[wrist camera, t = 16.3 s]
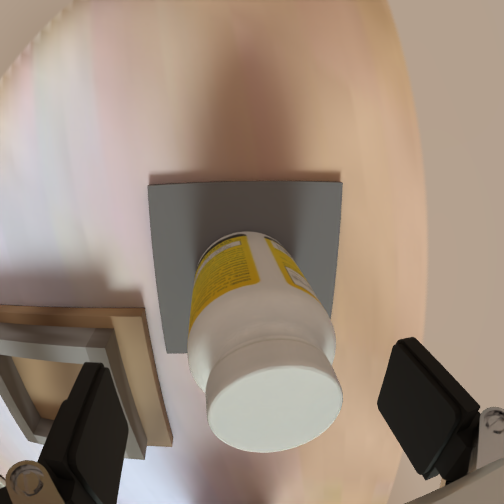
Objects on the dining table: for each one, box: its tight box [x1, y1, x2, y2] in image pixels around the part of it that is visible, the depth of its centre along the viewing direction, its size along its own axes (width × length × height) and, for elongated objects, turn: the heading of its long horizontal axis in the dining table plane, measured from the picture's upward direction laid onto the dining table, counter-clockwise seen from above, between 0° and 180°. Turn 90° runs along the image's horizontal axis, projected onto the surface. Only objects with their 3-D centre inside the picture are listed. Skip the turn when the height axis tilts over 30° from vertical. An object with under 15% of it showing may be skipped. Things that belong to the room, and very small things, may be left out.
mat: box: [148, 181, 343, 353], centre depth 18 cm, size 10×10×1 cm
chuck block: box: [0, 305, 173, 460], centre depth 18 cm, size 14×12×3 cm
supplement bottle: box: [187, 231, 343, 453], centre depth 13 cm, size 5×5×10 cm
